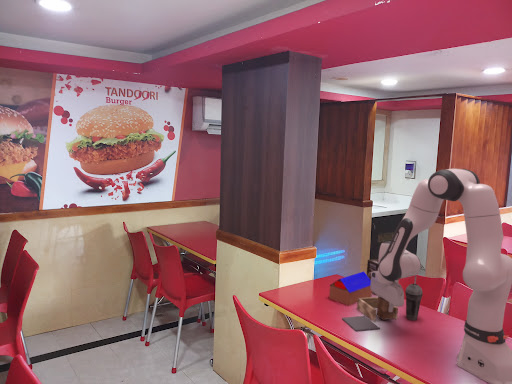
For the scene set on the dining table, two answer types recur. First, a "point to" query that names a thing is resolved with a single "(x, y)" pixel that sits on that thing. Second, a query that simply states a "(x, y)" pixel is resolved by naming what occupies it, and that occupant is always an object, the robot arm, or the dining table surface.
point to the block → (384, 309)
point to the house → (351, 288)
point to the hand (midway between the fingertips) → (385, 308)
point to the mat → (360, 323)
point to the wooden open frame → (371, 307)
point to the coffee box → (372, 268)
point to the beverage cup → (413, 300)
